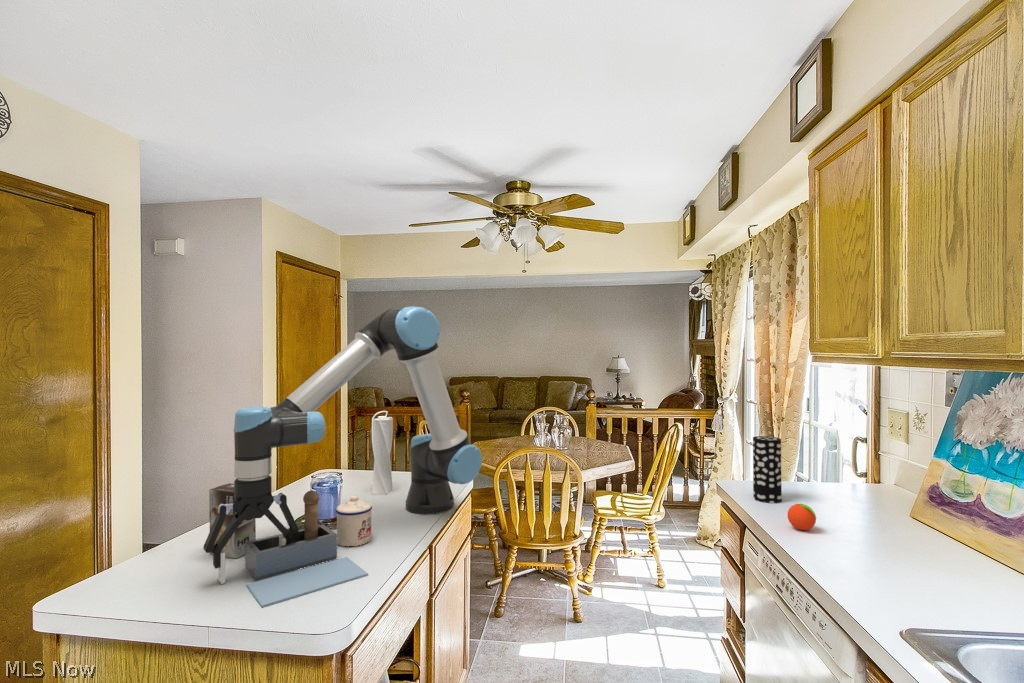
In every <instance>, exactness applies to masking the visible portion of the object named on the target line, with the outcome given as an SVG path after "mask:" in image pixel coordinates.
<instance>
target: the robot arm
mask: <svg viewBox="0 0 1024 683" xmlns="http://www.w3.org/2000/svg"><path fill="white" fill-rule="evenodd" d="M440 333H441V326H440V323H439V321H438V318H437V317H436V316H435V314H434V313H433V312H432V311H431V310H429V309H427V308H426V307H422V306H411V305H410V306H405V307H399V308H398V307H397V308H389V309H386V310H383V311H382V312H380V313H379V314H377V315H376V316H375V317H374V318H372V319H371V320H370V321H368V323H366V324H365V325H364V326H363V327H362V328H360V330H358V331H357V332H356V333H355V334H354V339H353V340H352V341H351V342H349V343H348V344H347V345H346V346H345V347H344V348H342V350H340V351H339V352H338V353H337V354H336V355H334V357H332V358H331V359H330V360H329V361H328V362H326V363H325V364H324V365H323V366H322V367H320V368H319V369H318V370H317V371H316V372H314V374H312V375H311V376H310V377H308V379H307V380H305V381H304V382H303V383H301V385H299V387H297V388H296V389H295V390H294V391H293V392H291V393H290V394H289V395H288V396H286V398H284V399H283V400H282V401H281V402H280V403H278V404H277V405H276V406H270V407H267V406H254V407H253V406H252V407H251V406H249V407H244V408H239V409H238V410H237V411H236V412H235V414H234V423H233V425H234V426H233V427H234V428H233V434H234V436H233V437H234V440H233V442H234V444H233V445H234V465H233V466H234V470H233V471H234V474H233V476H234V478H235V480H234V481H233V484H234V501H233V503H231V504H222V503H220V504H219V505H218V512H217V516H216V519H215V521H214V523H213V525H212V528H211V530H210V529H209V532H208V535H207V537H206V540H205V542H204V545H203V547H202V548H203V550H204V552H205V553H207V554H210V553H213V554H212V565H213V567H214V569H217V570H218V578H217V579H218V581H219V582H220V585H223V584H226V557H225V552H224V551H223V548H224V547H225V545H226V544H227V542H228V541H229V539H230V538H231V536H232V535H233V534H234V532H235V531H236V529H237V528H238V526H239V525H241V523H242V522H243V521H244V520H247V521H248V520H251V519H254V518H255V519H261V518H263V517H264V516H265V517H266V518H267V519H268V520H269V521H270V522H271V523H272V524H273V525H274V526H275V527H276V529H278V531H280V534H283V536H279V546H283V545H287V544H290V538H291V537H292V534H294V533H297V532H298V531H299V530H300V529H299V527H298V525H297V523H296V521H295V518H294V516H293V514H292V512H291V510H290V508H289V506H288V501H287V500H288V499H287V495H286V494H284V493H283V492H280V493H278V494H277V495H272V480H273V479H272V476H271V474H272V467H273V466H272V449H273V448H280V447H290V446H291V447H292V446H297V445H306V444H307V445H310V444H313V443H318V442H321V441H322V440H323V439H324V436H325V434H326V421H325V418H324V416H323V414H322V413H321V412H319V411H316V410H318V408H320V407H321V406H322V405H323V404H324V403H325V402H326V401H328V400H329V399H330V398H331V397H332V396H333V395H335V393H337V391H339V390H340V389H341V388H342V387H343V386H344V385H346V383H348V382H349V381H350V380H352V378H353V377H354V376H356V374H357V373H358V372H360V371H361V370H362V369H364V367H366V366H367V365H368V364H369V363H370V362H371V361H372V360H373V359H374V360H375V359H377V360H378V359H380V358H381V357H382V356H383V355H384V354H386V353H388V352H389V351H392V350H394V351H395V353H396V354H395V355H396V356H397V359H398V361H399V362H401V363H403V364H405V366H406V367H407V368H406V369H407V371H408V373H409V376H410V380H411V382H412V385H413V388H414V392H415V394H416V397H417V399H418V402H419V405H420V408H421V410H422V413H423V416H424V418H425V422H426V425H427V429H428V431H429V433H425V434H424V433H423V434H417V435H415V436H413V437H412V438H411V442H410V465H411V466H410V471H411V472H410V481H411V482H410V486H409V489H408V492H407V496H406V499H405V509H406V510H407V511H408V512H410V513H413V514H419V515H420V514H422V515H431V514H440V513H443V512H447V511H449V510H452V509H453V508H454V507H455V498H454V494H453V492H452V488H451V486H450V483H452V484H456V485H457V484H459V485H466V484H468V483H471V482H472V481H473V480H475V478H476V477H477V476H478V475H479V473H480V470H481V468H482V464H483V455H482V452H481V450H480V449H479V448H478V447H477V446H476V445H474V444H471V441H470V438H469V435H468V433H467V431H466V430H465V429H462V428H461V427H460V425H459V421H458V419H457V415H456V413H455V410H454V407H453V404H452V400H451V398H450V394H449V392H448V389H447V385H446V383H445V380H444V377H443V374H442V370H441V368H440V367H441V366H440V365H439V362H438V359H437V355H436V354H437V351H439V350H438V349H439V345H438V341H439V335H440ZM274 502H275V504H276V505H279V509H280V510H281V513H282V515H283V517H284V519H285V521H286V523H287V524H288V528H287V527H286V526H285V525H284V524H282V522H281V521H280V520H279V519H278V518H277V516H275V515H274V513H273V512H272V511H271V510H270V507H272V505H273V503H274ZM231 509H234V511H235V512H236V514H235V515H234V517H233V518H232V521H231V522H230V524H229V525H228V526H227V528H226V529H225V531H224V532H223V534H222V535H221V536H220V538H219V539H218V541H217V542H216V543H215V541H216V539H217V537H218V534H219V532H220V530H221V527H222V525H223V523H224V520H225V517H226V515H227V514H228V513H229V512H230V510H231ZM214 544H215V545H214Z"/></svg>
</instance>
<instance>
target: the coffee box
mask: <svg viewBox="0 0 1024 683" xmlns="http://www.w3.org/2000/svg"><path fill="white" fill-rule="evenodd" d="M208 498H209V500H208V502H209V504H208V505H209V506H208V508H209V509H208V510H209V531H210V530H211V528H212V525H213V523H214V521H215V519H216V516H217V512H218V505H219V504H220V503H222V504H231V503H233V501H234V483H226V484H222V485H220V486H219V485H218V486H216V487H213V488H210V489H209V490H208ZM235 514H236V512H235V511H234V509H231V510H230V512H229V513H228V514H227V515H226V517H225V520H224V523H223V525H222V527H221V530H220V532H219V534H218V537H217V539H216V541H215V543H216V542H217V541H218V539H219V538H220V536H221V535H222V534H223V532H224V531H225V529H226V528H227V526H228V525H229V524H230V522H231V521H232V518H233V517H234V515H235ZM256 520H257V518H254V519H251V520H248V521H247V520H244V521H243V522H242V523H241V525H239V526H238V528H237V529H236V531H235V532H234V534H233V535H232V536H231V538H230V539H229V541H228V542H227V544H226V545H225V547H224V548H223V551H224V552H225V558H232V559H238V558H241V557H242V556H245V542H248V541H252V540H257V539H256V538H257V537H256V536H257V535H256V533H257V531H256V526H257V525H256V524H257V523H256ZM214 545H215V544H214ZM209 555H213V553H209Z"/></svg>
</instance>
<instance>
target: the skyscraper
mask: <svg viewBox="0 0 1024 683" xmlns="http://www.w3.org/2000/svg"><path fill="white" fill-rule="evenodd" d="M382 413H385V415H380V416H377V415H378V414H382ZM388 413H389V411H387V410H380V411H377V412H376V413H375V414H374V415H373V416H372V418H371V446H372V452H373V458H374V463H373V476H372V492H371V493H372V495H381V494H386V495H385V496H387V495H388V494H389V493H391V492H392V491H393V477H392V476H393V474H392V465H391V458H390V457H391V451H392V447H393V439H394V438H393V437H394V419H393V417H392V416H388ZM376 416H377V418H375V417H376ZM387 416H388V417H387ZM390 491H391V492H390Z"/></svg>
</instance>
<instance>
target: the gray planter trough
mask: <svg viewBox="0 0 1024 683" xmlns="http://www.w3.org/2000/svg"><path fill="white" fill-rule="evenodd" d="M279 536H283V534H282V533H279V534H276V535H271V536H266V537H262V538H258V539H256V540H252V541H248V542H245V555H244V556H245V558H244V562H245V564H244V566H245V570H246V569H247V570H246V571H247V573H248V574H249V573H250V574H249V575H250V576H251V578H252V577H253V578H252V579H253V580H254V582H257V581H260V580H264V579H267V578H271V577H275V576H278V575H282V574H284V573H285V574H286V573H287V572H291V571H295V570H296V571H297V570H298V569H300V568H304V567H307V568H308V566H312V565H315V564H319V563H322V562H326V561H330V560H334V559H336V558H337V559H338V543H337V532H334V531H333V530H331V529H330V528H329V527H328V526H327V525H325V524H318V537H316V538H312V539H308V540H305V528H301V529H299V531H298V532H297V533H294V534H292V537H291V538H290V544H287V545H283V546H279ZM337 559H336V560H337Z"/></svg>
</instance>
